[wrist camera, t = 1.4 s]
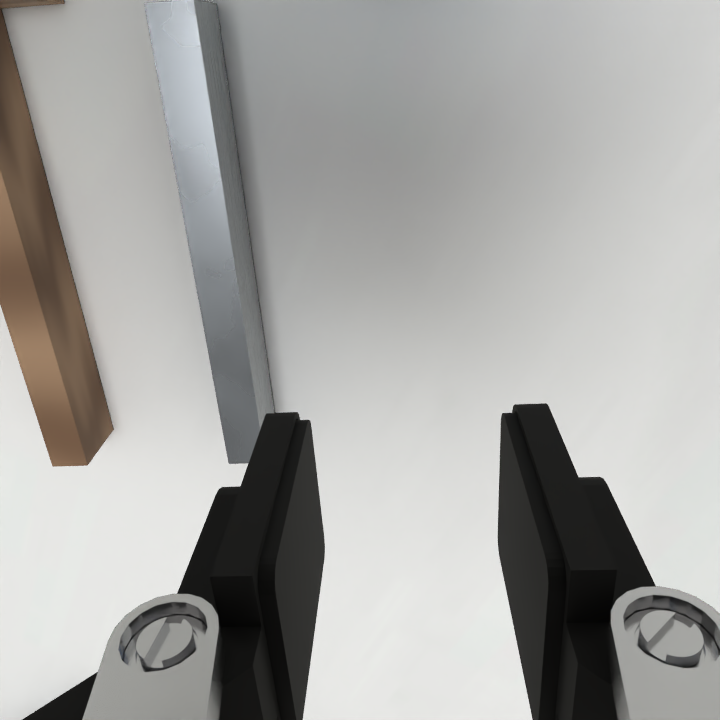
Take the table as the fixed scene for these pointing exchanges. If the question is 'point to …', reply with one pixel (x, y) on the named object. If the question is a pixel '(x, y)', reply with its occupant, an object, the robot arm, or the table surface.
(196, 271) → the long gray metal bar
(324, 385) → the table surface
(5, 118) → the brown bar with block
